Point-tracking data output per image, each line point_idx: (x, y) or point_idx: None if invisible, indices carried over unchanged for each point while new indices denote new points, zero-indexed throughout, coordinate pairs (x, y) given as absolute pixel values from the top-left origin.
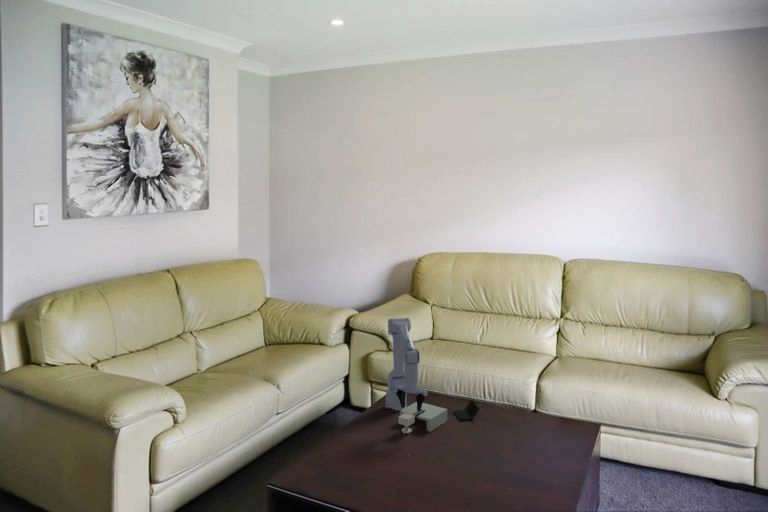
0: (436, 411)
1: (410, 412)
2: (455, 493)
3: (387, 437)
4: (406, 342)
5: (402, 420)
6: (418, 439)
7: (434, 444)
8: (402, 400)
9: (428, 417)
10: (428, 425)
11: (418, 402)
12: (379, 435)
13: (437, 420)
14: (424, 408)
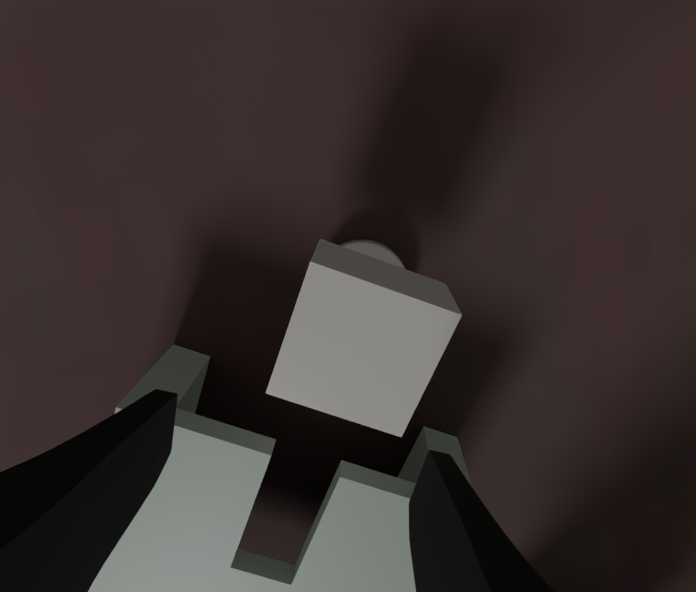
0: (140, 570)
1: (367, 509)
2: None
3: (514, 126)
4: None
5: (394, 280)
6: (215, 170)
7: (40, 105)
8: (459, 569)
9: None
10: (172, 375)
11: (17, 488)
12: (603, 149)
13: None
14: None
